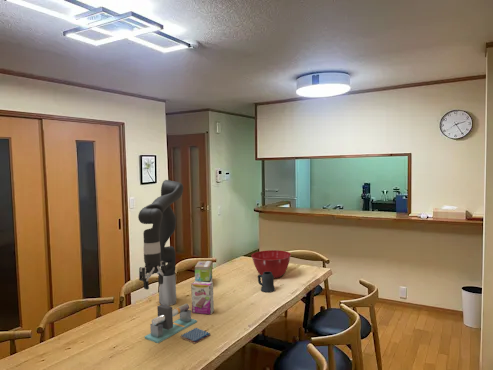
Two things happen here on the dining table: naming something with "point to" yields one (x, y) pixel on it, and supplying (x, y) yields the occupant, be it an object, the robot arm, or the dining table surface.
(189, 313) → the pipe
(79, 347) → the dining table surface
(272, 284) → the mug
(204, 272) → the tea box
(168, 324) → the tall grey rectangular prism
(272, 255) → the mixing bowl
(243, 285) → the dining table surface
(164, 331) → the base board
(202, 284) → the candy bar box
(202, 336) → the woven mat
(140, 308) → the dining table surface
